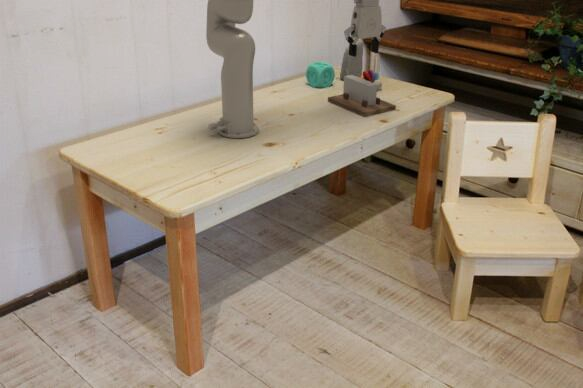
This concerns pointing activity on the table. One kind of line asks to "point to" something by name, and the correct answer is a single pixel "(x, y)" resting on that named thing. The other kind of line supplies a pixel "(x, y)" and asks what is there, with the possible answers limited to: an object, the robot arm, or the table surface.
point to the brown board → (361, 105)
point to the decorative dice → (320, 74)
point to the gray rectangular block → (360, 89)
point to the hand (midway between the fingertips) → (363, 54)
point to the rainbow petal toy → (372, 78)
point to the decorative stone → (352, 62)
